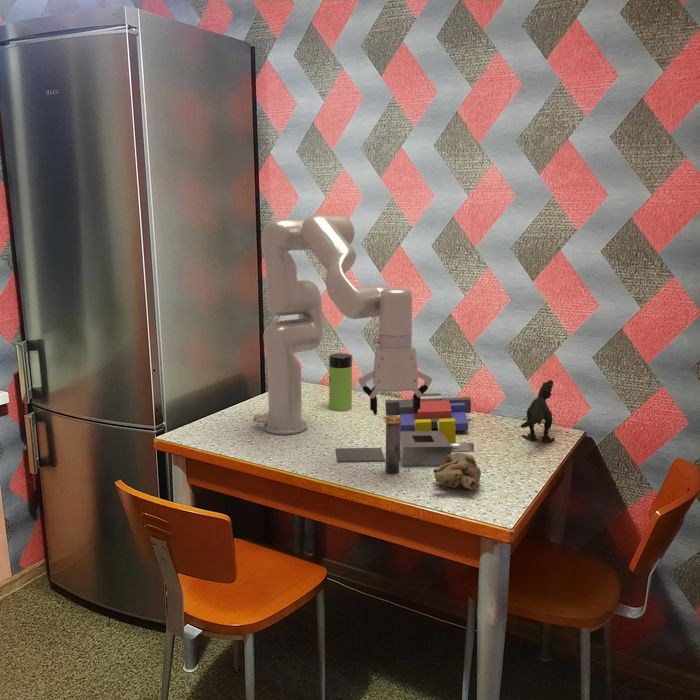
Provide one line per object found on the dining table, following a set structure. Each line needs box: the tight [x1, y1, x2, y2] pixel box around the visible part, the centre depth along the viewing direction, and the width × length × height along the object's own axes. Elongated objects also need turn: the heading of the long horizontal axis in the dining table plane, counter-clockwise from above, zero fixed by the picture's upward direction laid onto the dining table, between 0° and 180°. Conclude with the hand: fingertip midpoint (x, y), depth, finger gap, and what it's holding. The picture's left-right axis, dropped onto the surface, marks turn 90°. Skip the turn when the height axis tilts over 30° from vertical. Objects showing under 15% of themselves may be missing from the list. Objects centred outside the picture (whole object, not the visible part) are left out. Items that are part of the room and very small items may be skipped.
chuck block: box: [400, 430, 475, 468], centre depth 164 cm, size 19×12×5 cm, turn 94°
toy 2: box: [520, 379, 556, 444], centre depth 175 cm, size 9×28×15 cm, turn 151°
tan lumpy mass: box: [433, 452, 482, 490], centre depth 146 cm, size 7×11×15 cm
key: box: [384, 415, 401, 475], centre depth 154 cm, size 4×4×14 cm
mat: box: [335, 447, 386, 463], centre depth 165 cm, size 12×9×1 cm
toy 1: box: [384, 392, 472, 443], centre depth 188 cm, size 26×9×30 cm
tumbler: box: [328, 352, 353, 412], centre depth 205 cm, size 8×8×17 cm
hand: (395, 412), depth 152 cm, fingers open, 9 cm apart
